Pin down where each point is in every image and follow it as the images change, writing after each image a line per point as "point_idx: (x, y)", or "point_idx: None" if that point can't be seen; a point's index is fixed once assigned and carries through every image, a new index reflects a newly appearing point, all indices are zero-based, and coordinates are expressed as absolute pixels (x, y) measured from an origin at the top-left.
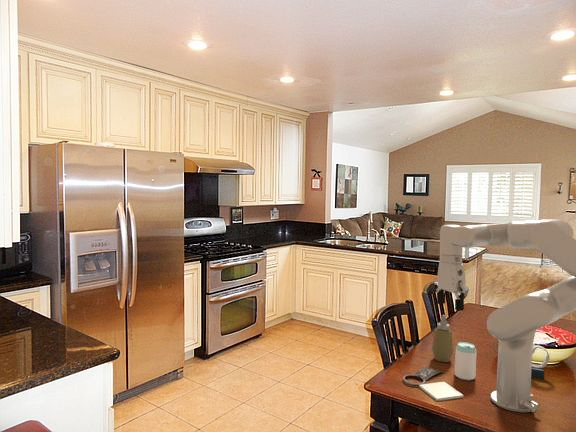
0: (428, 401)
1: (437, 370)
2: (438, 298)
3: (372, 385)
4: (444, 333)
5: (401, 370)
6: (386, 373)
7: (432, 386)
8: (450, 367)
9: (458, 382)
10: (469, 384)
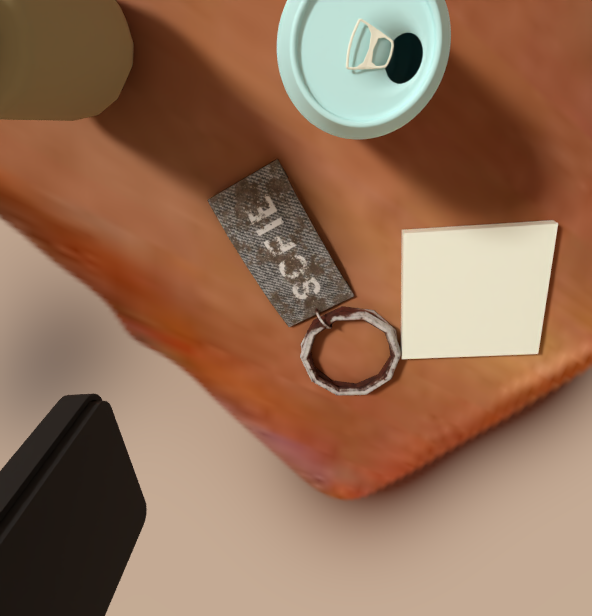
0: (522, 378)
1: (260, 183)
2: (105, 611)
3: (344, 494)
4: (35, 66)
5: (226, 345)
6: (250, 414)
7: (433, 314)
8: (211, 63)
9: (405, 142)
10: (444, 91)
